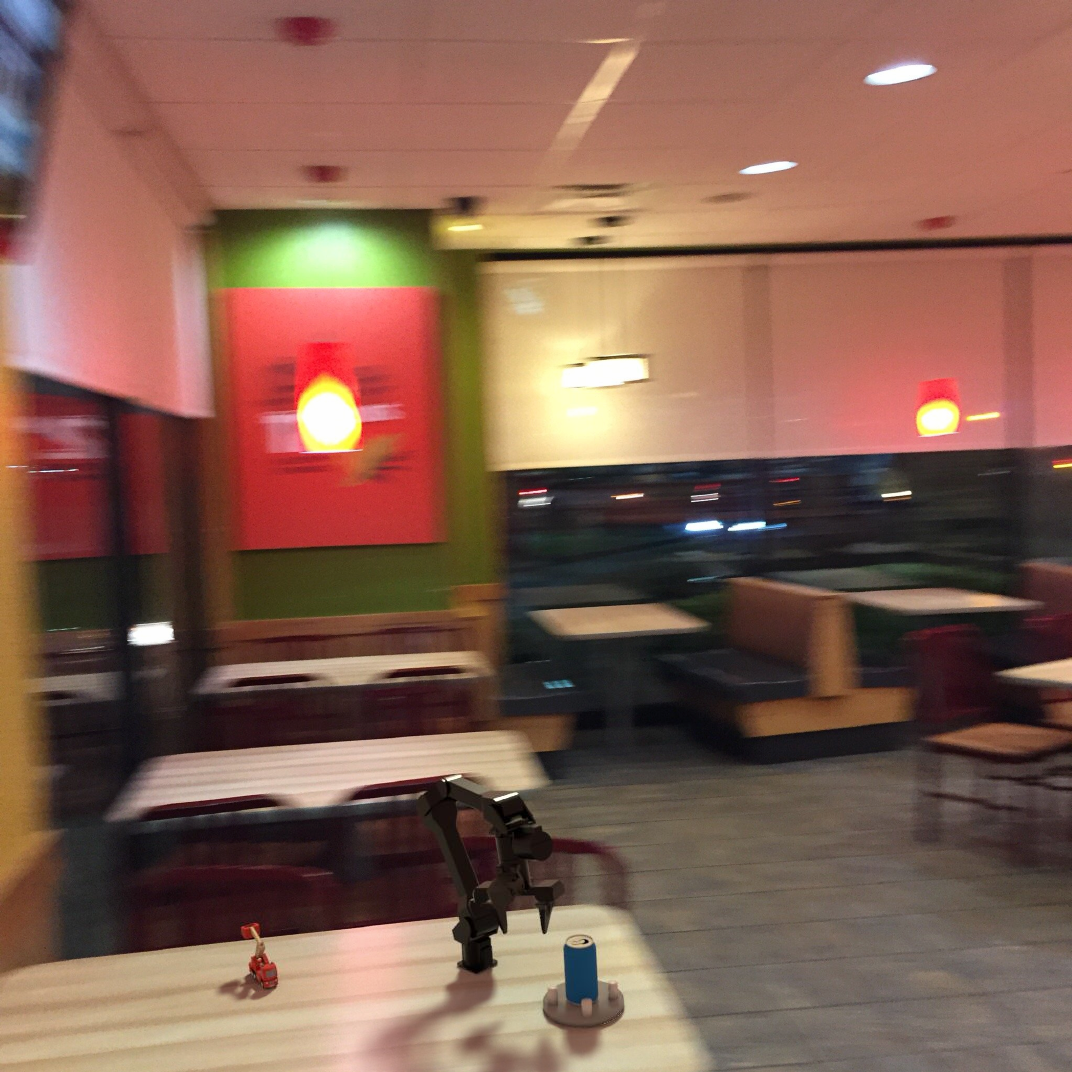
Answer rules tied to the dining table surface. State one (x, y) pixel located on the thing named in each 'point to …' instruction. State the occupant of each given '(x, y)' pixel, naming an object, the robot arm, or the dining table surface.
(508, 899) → the robot arm
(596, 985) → the beverage can
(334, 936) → the dining table surface
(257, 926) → the toy fire truck
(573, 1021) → the peg stand
